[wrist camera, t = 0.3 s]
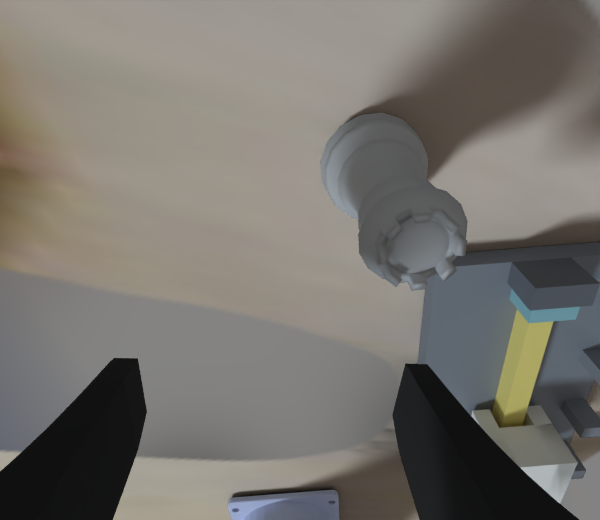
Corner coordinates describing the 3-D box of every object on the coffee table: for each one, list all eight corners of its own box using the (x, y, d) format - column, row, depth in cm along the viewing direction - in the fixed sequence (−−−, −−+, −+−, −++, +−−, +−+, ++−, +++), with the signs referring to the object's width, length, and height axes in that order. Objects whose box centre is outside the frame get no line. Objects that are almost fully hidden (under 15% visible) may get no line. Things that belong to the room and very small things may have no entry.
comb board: (549, 452, 30) (578, 500, 27) (407, 463, 30) (421, 513, 27) (628, 239, 21) (683, 276, 18) (428, 255, 21) (452, 295, 18)
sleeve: (526, 448, 27) (558, 506, 24) (463, 453, 27) (488, 512, 24) (540, 405, 25) (577, 462, 22) (472, 410, 25) (500, 469, 22)
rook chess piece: (325, 105, 18) (355, 170, 11) (431, 114, 18) (526, 183, 11) (314, 206, 20) (332, 313, 13) (408, 212, 20) (475, 319, 13)
